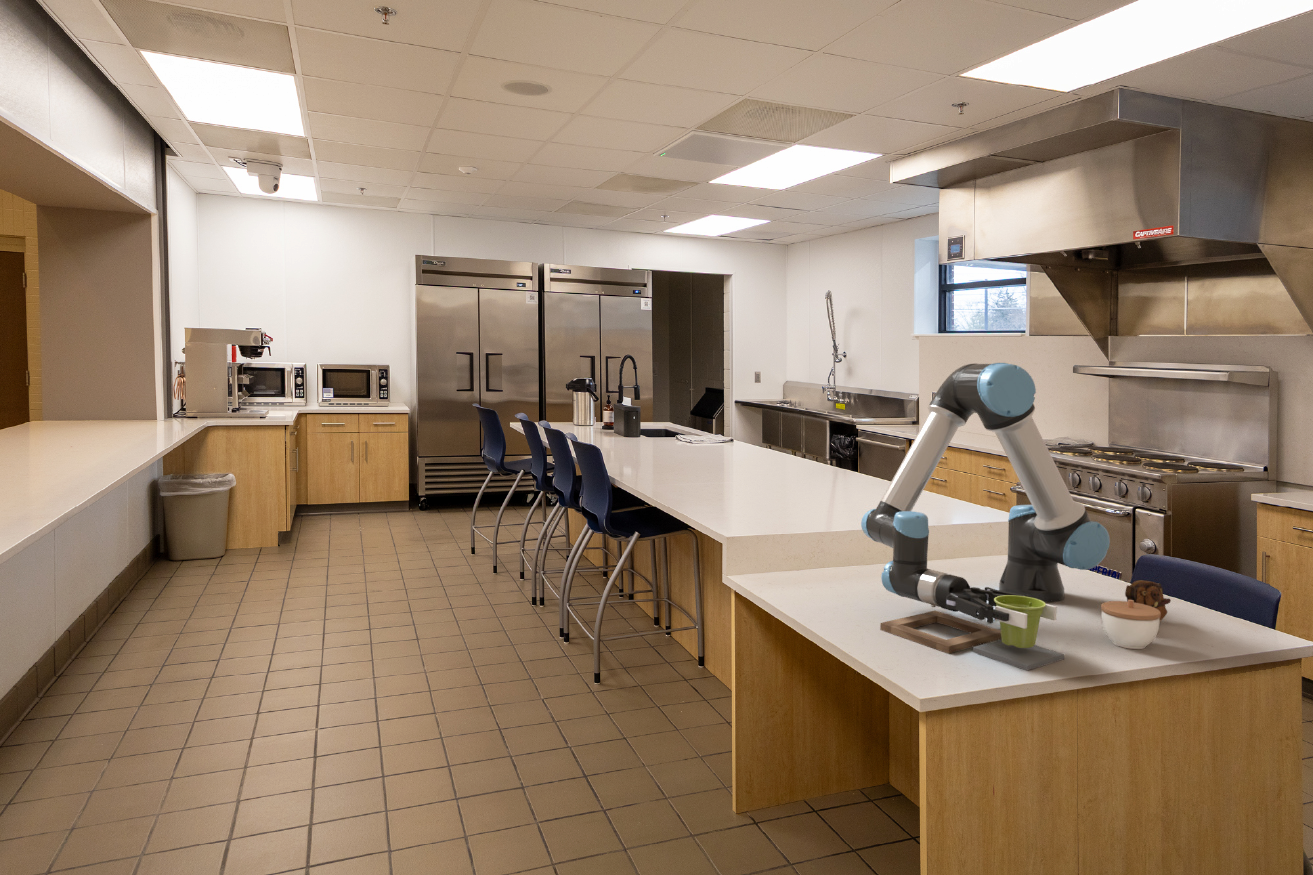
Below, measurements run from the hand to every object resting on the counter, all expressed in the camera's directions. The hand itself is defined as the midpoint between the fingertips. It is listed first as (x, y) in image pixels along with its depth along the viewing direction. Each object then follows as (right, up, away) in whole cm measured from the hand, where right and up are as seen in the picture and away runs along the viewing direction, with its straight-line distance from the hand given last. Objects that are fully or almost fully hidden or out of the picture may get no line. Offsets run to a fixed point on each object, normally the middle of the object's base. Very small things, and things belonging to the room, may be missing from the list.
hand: (1040, 617), depth 158 cm
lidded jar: (+24, -8, +12) cm, 28 cm away
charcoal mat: (-2, -9, +5) cm, 10 cm away
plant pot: (-3, -6, +4) cm, 8 cm away
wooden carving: (+35, -7, +24) cm, 43 cm away
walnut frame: (-13, -8, +18) cm, 23 cm away
